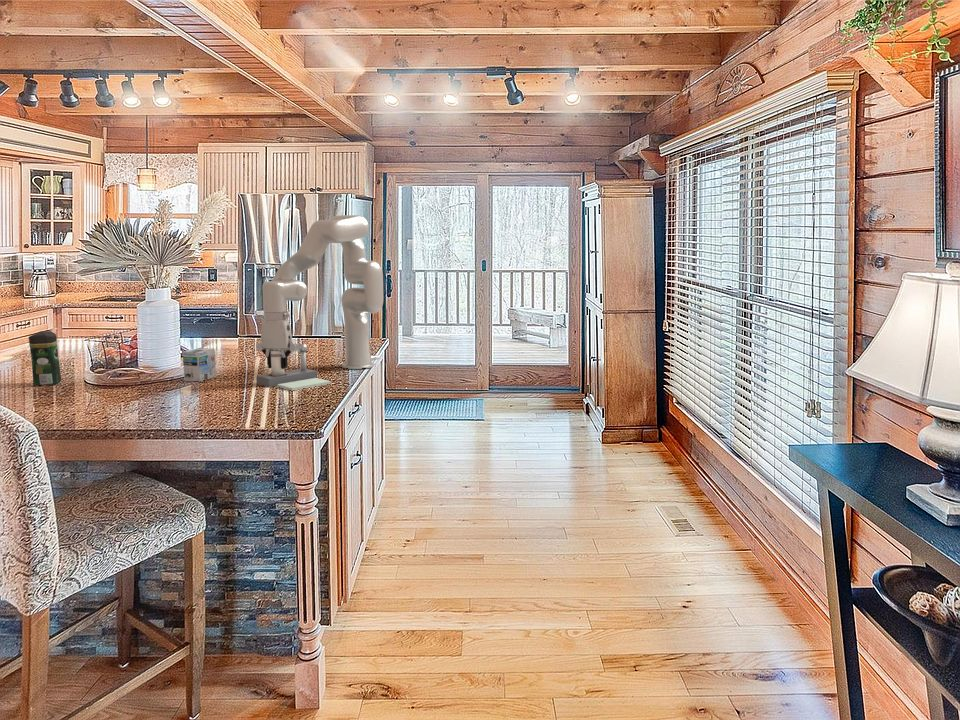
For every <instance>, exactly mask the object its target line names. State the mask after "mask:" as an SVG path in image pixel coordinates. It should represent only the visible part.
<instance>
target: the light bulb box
mask: <svg viewBox="0 0 960 720" xmlns="http://www.w3.org/2000/svg"><path fill="white" fill-rule="evenodd" d="M182 361H183V377H184V382H194V381H199V383H200V381H201V382H204V381H203V380H205V381H207V380H206V379H208V380H210V378H211V379H214V378H217V369H216V350H215V348H211V347H210V348H207V347H198V348H193V349H190V350H187V351H182ZM213 377H214V378H213Z"/></svg>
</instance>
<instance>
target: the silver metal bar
mask: <svg viewBox="0 0 960 720" xmlns="http://www.w3.org/2000/svg"><path fill="white" fill-rule="evenodd" d="M260 342H261V341H260ZM260 342H256V343H255V348H256V349H255V350H257V351H259V350H260V349H258V345H259V344H260ZM293 344H294V345H295V347H296V349H295V350H294V351H293V352H305V351H306V352H307V351H308V347H307V346H308V345H307V344H306V343H293ZM265 349H266V348H265ZM287 349H288V350H289V349H290V347H289V348H287ZM273 350H275V349H273ZM260 351H261V350H260Z"/></svg>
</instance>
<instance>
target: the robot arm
mask: <svg viewBox="0 0 960 720" xmlns="http://www.w3.org/2000/svg"><path fill="white" fill-rule="evenodd" d="M368 232H369V222H368V220H367V219H366V218H365V217H364V216H363V215H359V214H356V215H355V214H352V215H351V214H350V215H348V214H347V215H346V214H345V215H343V214H342V215H340V214H339V215H334V216H332V217H330V218H329V219H318V220H316V221H314V222H313V223H312V224H311V226H310V228H309V229H308V232H306V235H305V237H304V238H303V241H302V242H301V245H300V247H299V249H297V251H296V252H295V253H294V254H292V256H290V257H289V258H288V259H287V260H286V261H284V262H283V263H282V264H281V265H280V267H279V268H278V269H277V271H276V272H275V274H274V276H273V278H272V280H271V281H264V282H263V283H262V305H263V320H262V322H261V323H262V324H261V330H260V331H261V332H260V344H259V345H258V349H260V351H261V352H262V353H263V355H265V357H266V361H267V368H268V369H271V355H270V353H271V352H270V351H271V350H273V349H280V350H281V354H282V358H281V368H282V369H284V370H285V369H286V368H288V365H289V362H288V357H289V356H290V354H292V353H293V352H295V351H294V350H295V349H296V347H295V345H294V344H295V343H293V334H292V328H291V324H290V321H289V320H288V319H287V318H290V316H291V315H290V313H287V307H286V303H287V301H291V302H299V301H302V300H304V299H305V298H306V296H307V294H308V287H307V285H306V283H304V282H303V281H302V280H299V279H295V278H296V277H297V276H298V275H299V274H301V273H302V272H304V271H307V270H309V269H312V268H313V267H316V266H317V265H318V264H319V263H320V262H321V259H322V258H323V255H324V254H325V253H326V252H325V251H326V250H327V248H328V247H329V245H330V244H341V247H342V253H343V272H344V279H345V282H347V283H348V284H352V285H363V287H349V288H347V289H346V290H344V291H343V292H342V295H341V299H340V300H341V307H342V311H343V319H344V346H345V347H344V349H345V353H344V354H345V355H344V356H345V362H343V363H341V368H343V369H346V368H348V370H363V369H362V368H366V369H370V368H373V367H374V363H373V361H376V360H379V358H380V355H378V354H374V355H372V354H370V321H369V319H368V315H367V314H377V313H378V312H380V311H381V310H382V308H383V305H384V273H383V270H382V267H381V265H380V264H379V262H377V261H375V260H368V259H367V257H366V247H365V243H364V241H363V239H362V238H364V237H365V236H366V235H367V234H368ZM289 347H290V349H289V350H288V349H287V348H289ZM265 348H266V349H265Z"/></svg>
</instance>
